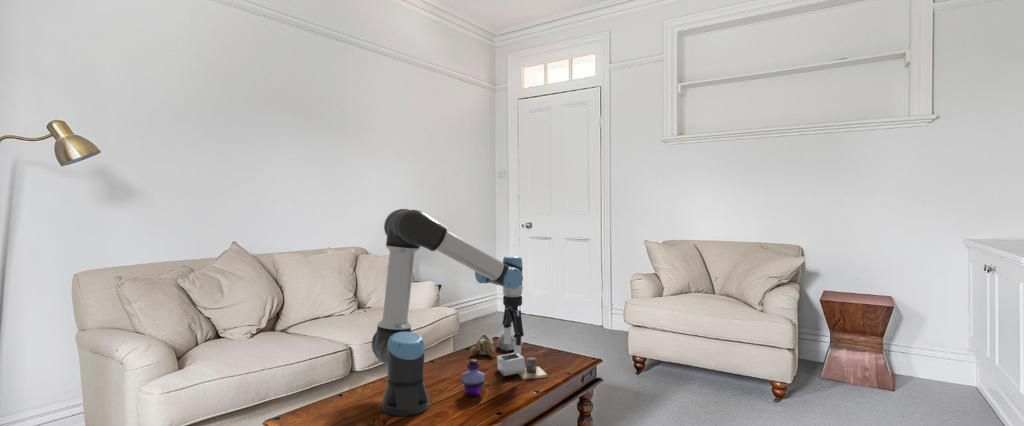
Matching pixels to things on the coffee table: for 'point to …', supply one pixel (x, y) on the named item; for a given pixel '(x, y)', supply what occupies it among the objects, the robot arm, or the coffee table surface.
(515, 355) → the grey hollow square block
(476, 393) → the potion bottle
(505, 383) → the coffee table surface
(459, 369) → the coffee table surface
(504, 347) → the rock
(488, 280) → the robot arm
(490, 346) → the ceramic sculpture
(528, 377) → the cream square tile
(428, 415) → the coffee table surface
